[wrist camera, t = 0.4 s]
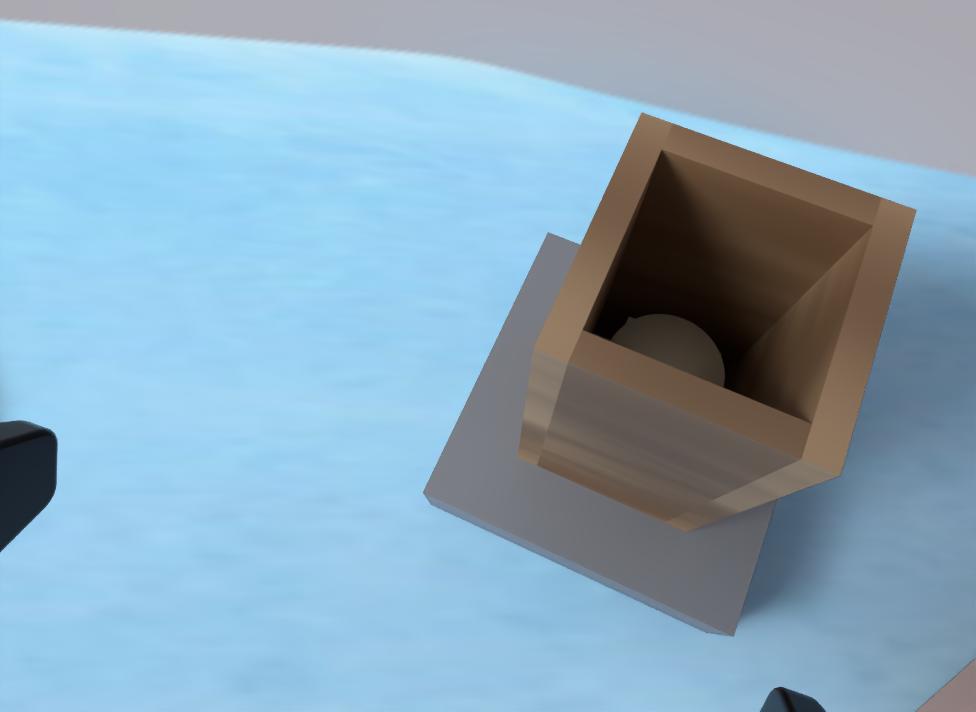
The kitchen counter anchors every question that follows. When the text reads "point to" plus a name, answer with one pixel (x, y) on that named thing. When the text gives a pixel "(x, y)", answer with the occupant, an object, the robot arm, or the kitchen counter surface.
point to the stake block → (574, 508)
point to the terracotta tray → (955, 693)
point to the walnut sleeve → (713, 329)
